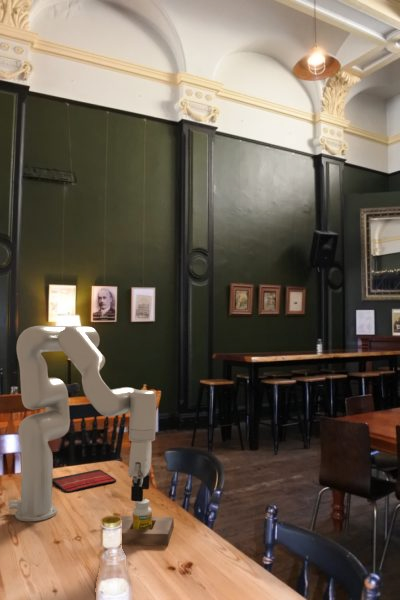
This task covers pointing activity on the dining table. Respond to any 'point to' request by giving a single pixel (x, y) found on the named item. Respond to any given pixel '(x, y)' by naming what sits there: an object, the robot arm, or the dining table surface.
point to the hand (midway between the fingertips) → (140, 494)
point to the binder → (83, 481)
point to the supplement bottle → (142, 515)
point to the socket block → (147, 531)
